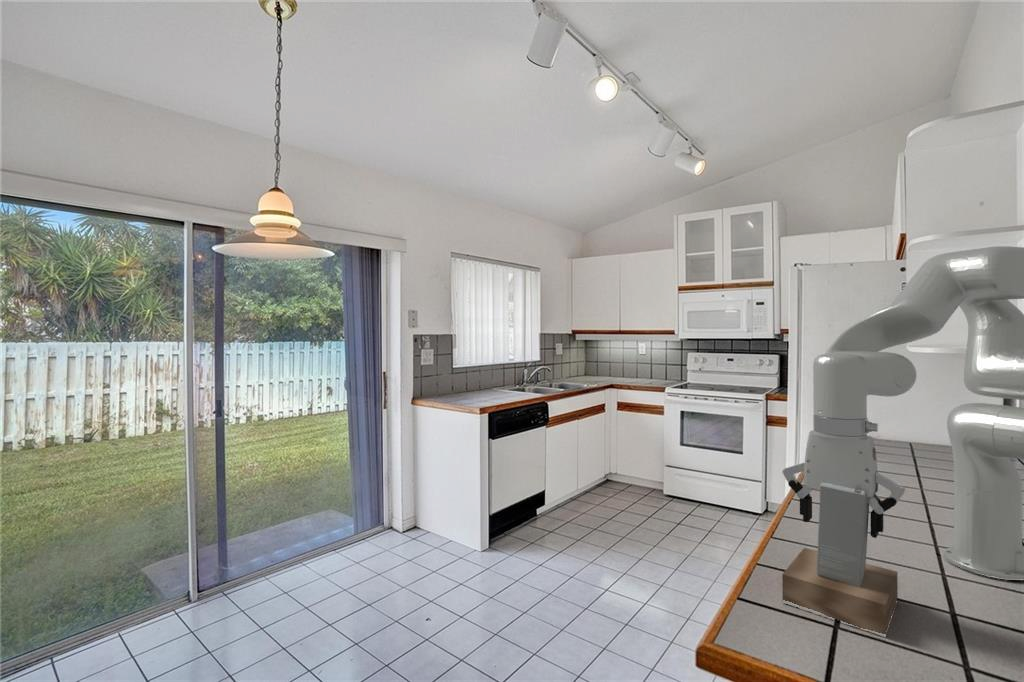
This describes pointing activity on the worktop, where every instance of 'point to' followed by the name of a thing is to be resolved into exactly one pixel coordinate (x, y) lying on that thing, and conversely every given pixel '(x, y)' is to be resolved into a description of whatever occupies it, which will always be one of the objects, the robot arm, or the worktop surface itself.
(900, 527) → the worktop surface
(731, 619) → the worktop surface
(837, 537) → the skincare box
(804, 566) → the walnut box
